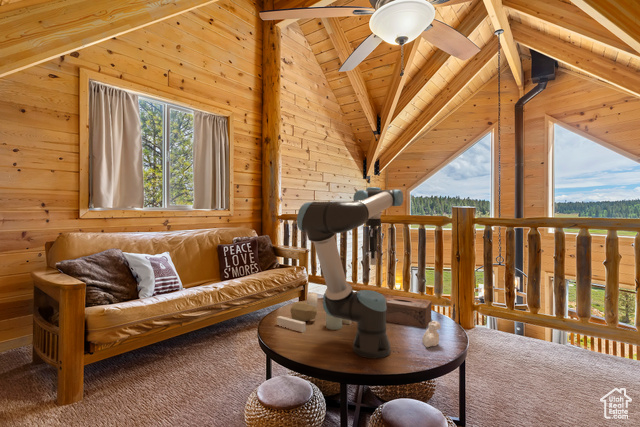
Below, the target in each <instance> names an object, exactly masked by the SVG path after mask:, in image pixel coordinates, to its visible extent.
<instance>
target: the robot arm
mask: <svg viewBox="0 0 640 427" xmlns="http://www.w3.org/2000/svg"><path fill="white" fill-rule="evenodd" d="M403 202H404V193H403V191H402V189H396V188H395V189H394V188H393V189H381V187H380V186H379V187H377V186H376V187H375V186H371V187H370V186H369V187H366V189H365V190H364V189H359V190H357V191H356V192H354V194H353V200H352V201H310V202H305V203H303V204H302V205H301V206H300V208H299V209H298V213H297V215H296V226H297V228H298V230H300V231H301V232H303V233H306V236H307V239H308V240H309V242H312V243H313V246H314V249H315V253H316V255H317V258H318V262H319V264H320V269H321V272H322V276H323V279H324V282H325V285H326V290H325V292H324V294H323V296H322V300H323V301H322V307H323V310H324V312H325V314H326V313H327V314H328V315H330V316H333V317H335V318H341V319H345V320H350V321H353V322H355V323H356V324H357V326H356V329H357V330H356V333H355V336H354V340H353V343H352V350H353V352H354V353H355V354H356V355H358V356H359V357H362V358H368V359H383V358H387V357H388V356H389V355H390V354H391V343H390V341H389V338H388V334H387V321H386V309H387V306H386V299H385V297H384V296H383V294H382V293H380V292H378V291H376V290H371V289H368V290H367V289H360V290H359V291H357V292H354V290H353V287H352V284H350V283H349V282H348V281H347V278H346V275H345V274H346V273H345V270H344V267H343V263H342V260H341V255H340V252H339V249H338V245H337V241H336V238H335V236H336V234H341V233H346V232H349V231H353V230H354V229H357V228H359V227H361V226H362V225H365V226H367V227H369V229H368V242H369V243H368V244H369V245H368V246H369V250H368V252H369V253H370V256H369V258H370V260H369V261H370V262H369V263H370V264H369V265H370V266H376V265H377V252H378V233H379V230H378V228H377V227H380V226H382V219H381V216H382V214H383V211H385V210H386V209H389V208H391V207H400V206H402V205H403Z"/></svg>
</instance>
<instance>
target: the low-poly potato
mask: <svg viewBox="0 0 640 427" xmlns="http://www.w3.org/2000/svg"><path fill="white" fill-rule="evenodd" d="M317 311H318V310H317V308H316V307H314V306H312V305H309V304H307V302H305V301H301V300H300V301H294V302H293V303H292V304H291V307H290V315H291V317H290V318H291V319H294V320H298V321H302V322H308V321H311V320H314V319H316V316H317V315H318V312H317Z"/></svg>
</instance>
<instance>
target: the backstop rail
mask: <svg viewBox="0 0 640 427" xmlns="http://www.w3.org/2000/svg"><path fill="white" fill-rule="evenodd" d="M306 322H307V321H305V322H302V321H298V320H294V319H292V318H291V317H290V318H289V317H285V316H283V315H282V316H281V315H279V316H277V317H276V326H277V325H279V326H278V327H281V326H282V328H285V327H286V329H288V328H289V330H293V331H297V332H300V333H305V332H306V325H307V324H306Z"/></svg>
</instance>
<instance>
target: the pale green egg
mask: <svg viewBox="0 0 640 427" xmlns="http://www.w3.org/2000/svg"><path fill="white" fill-rule="evenodd" d="M325 328H327V329H329V330H334V331H335V330H337V331H338V330H341V329H343V323H342V319H341V318H335V317H333V316H330V315H328V314H327V313H326V312H325Z"/></svg>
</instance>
